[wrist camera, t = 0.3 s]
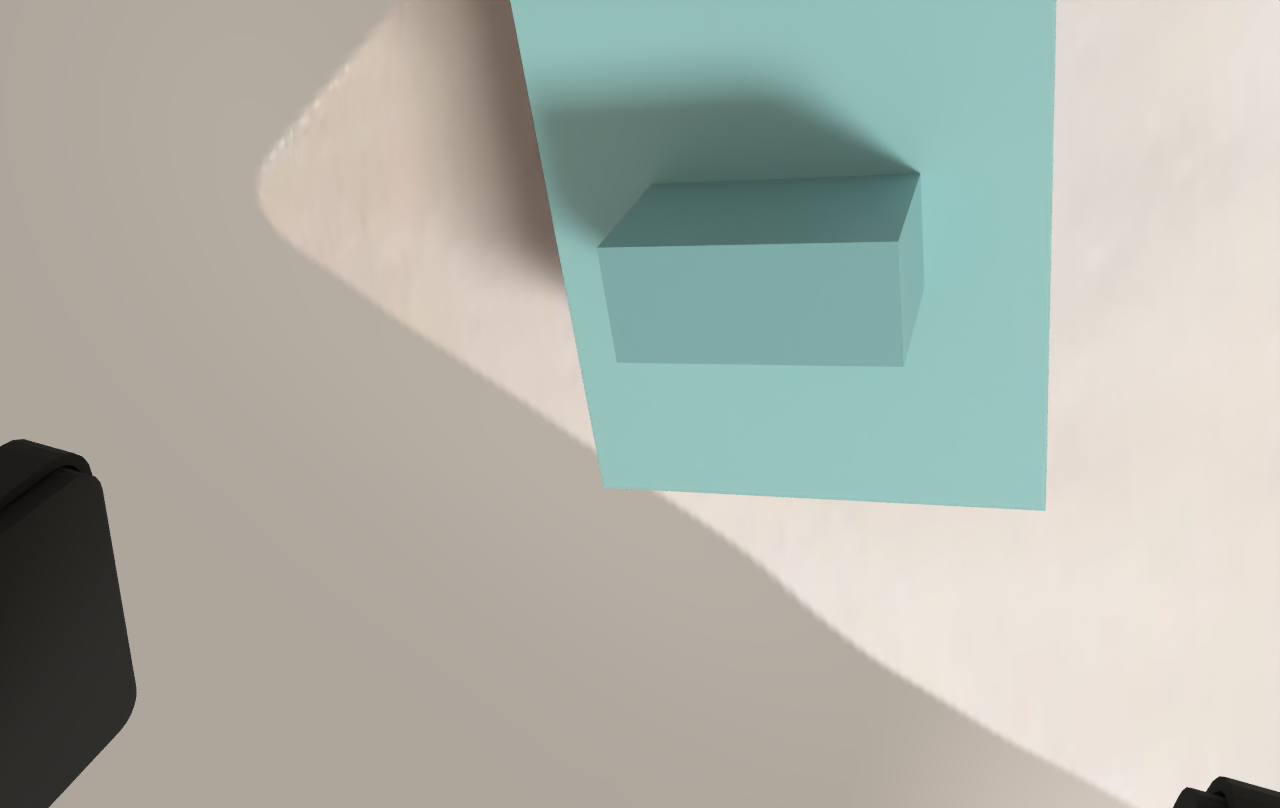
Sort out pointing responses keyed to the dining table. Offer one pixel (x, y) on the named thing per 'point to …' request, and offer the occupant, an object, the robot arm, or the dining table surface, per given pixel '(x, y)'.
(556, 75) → the lid
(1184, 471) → the dining table surface
